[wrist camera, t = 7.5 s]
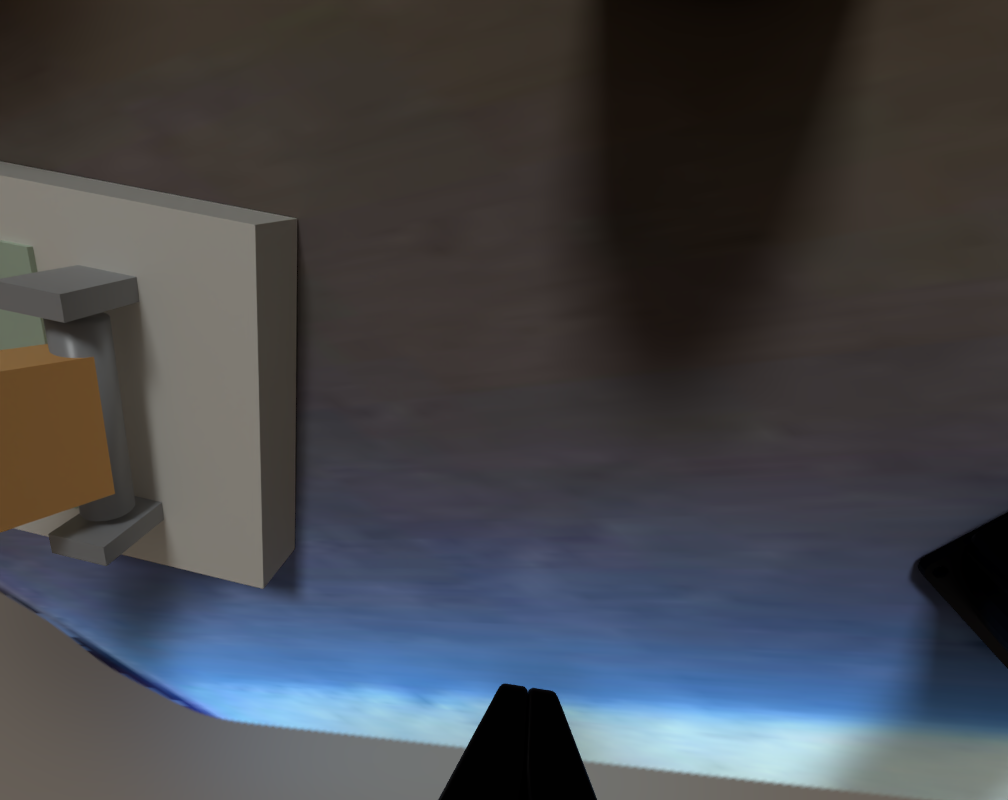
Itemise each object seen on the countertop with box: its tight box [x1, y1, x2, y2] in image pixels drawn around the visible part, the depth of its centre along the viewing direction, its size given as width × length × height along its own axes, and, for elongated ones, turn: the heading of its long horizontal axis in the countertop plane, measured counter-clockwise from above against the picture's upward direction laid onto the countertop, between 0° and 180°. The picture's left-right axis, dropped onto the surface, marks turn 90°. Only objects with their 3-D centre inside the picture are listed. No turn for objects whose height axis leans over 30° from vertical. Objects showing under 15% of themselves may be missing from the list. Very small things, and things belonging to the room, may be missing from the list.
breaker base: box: [0, 161, 297, 589], centre depth 19 cm, size 11×14×5 cm
